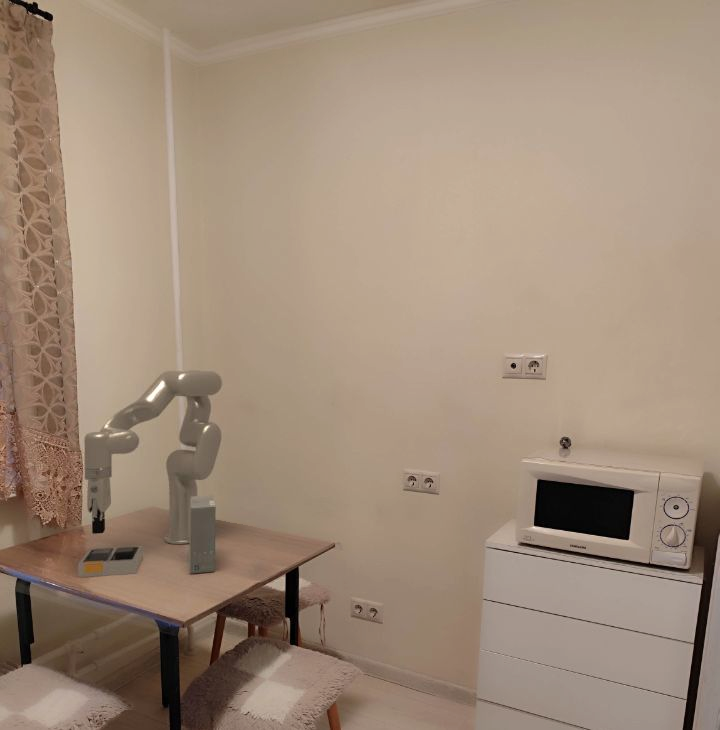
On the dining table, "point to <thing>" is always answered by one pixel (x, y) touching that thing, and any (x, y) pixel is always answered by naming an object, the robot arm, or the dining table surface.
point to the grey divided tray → (112, 562)
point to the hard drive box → (202, 534)
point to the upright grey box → (101, 554)
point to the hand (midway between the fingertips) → (98, 532)
